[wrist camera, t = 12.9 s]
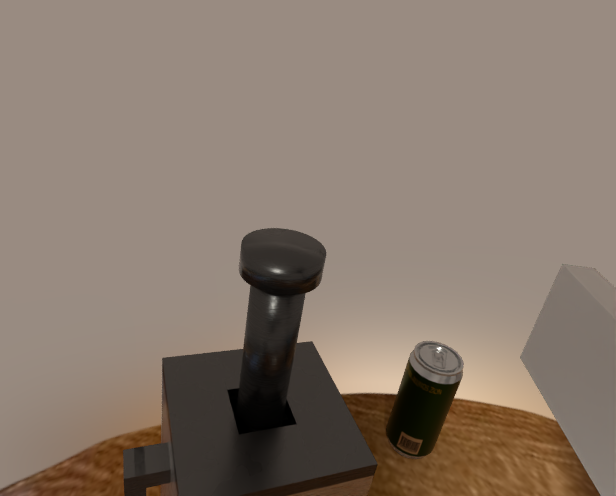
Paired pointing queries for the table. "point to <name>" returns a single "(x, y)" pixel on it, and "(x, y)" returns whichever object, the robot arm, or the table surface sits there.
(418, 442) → the green drink can
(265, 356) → the plunger
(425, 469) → the table surface
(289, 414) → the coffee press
